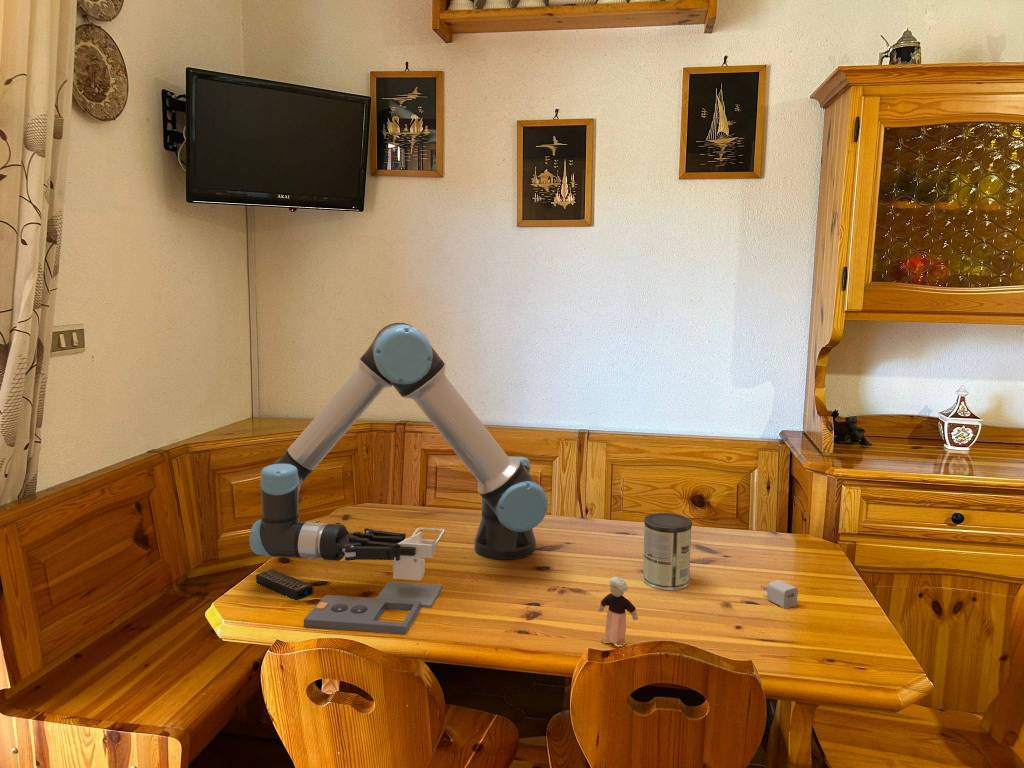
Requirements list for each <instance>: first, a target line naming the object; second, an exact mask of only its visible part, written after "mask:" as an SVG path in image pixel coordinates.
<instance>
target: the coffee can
mask: <svg viewBox="0 0 1024 768" xmlns="http://www.w3.org/2000/svg"><path fill="white" fill-rule="evenodd" d="M643 522H644V523H643V524H644V526H643V527H644V530H643V532H644V533H643V534H644V535H643V570H642V571H643V573H642V581H643V583H644V584H645V585H647V586H649V587H650V588H653V587H654V589H657V590H661V589H662V590H663V591H679V589H680V590H683V588H684V589H685V588H687V587H688V586H689V585H690V572H691V571H690V570H691V569H690V567H691V566H690V565H691V545H692V526H693V521H692V519H690V517H687V516H684V515H682V514H678V513H672V512H655V513H651V514H648V515H646V516H645V517H644V519H643Z"/></svg>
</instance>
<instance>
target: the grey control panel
mask: <svg viewBox="0 0 1024 768" xmlns="http://www.w3.org/2000/svg"><path fill="white" fill-rule="evenodd" d="M385 610H387V611H388V610H389V611H405V612H408V613H407V615H406V617H405V618H404V620H403V621H402V622H400V621H399V622H397V621H386V620H385V621H384V620H379V619H380V617H381V616H382V614H383V613H384V612H385ZM421 610H422V607H421V601H409V600H395V599H380V598H377V597H364V596H351V595H350V596H348V595H347V596H346V595H333V594H325V595H324V596H323V597H322V599H321V600H320V601H319V602H318V603H317V604H316V605H315V606H314V607H313V609H311V611H310V612H308V614H307V615H306V616H305V617H304V618H303V627H306V628H314V629H315V628H316V629H317V628H318V629H331V630H341V631H342V630H343V631H344V630H345V631H346V630H347V631H357V632H358V631H360V632H368V633H369V632H370V633H371V632H372V633H382V632H383V633H384V634H385V633H386V634H395V633H396V634H397V633H398V635H407V633H408V632H409V629H410V628H411V626H412V625H411V624H413V622H414V621H415V620H414V619H416V617H417V616H418V614H419V612H420V611H421ZM407 631H408V632H407Z"/></svg>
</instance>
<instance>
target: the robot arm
mask: <svg viewBox="0 0 1024 768" xmlns="http://www.w3.org/2000/svg"><path fill="white" fill-rule="evenodd" d="M358 361H359V366H358V367H357V368H356V370H355V371H354V372H353V373H352V374H351V375H350V377H349V378H348V379H347V380H346V381H345V382H344V383H343V384H342V385H341V387H340V388H339V389H338V390H337V392H336V393H335V394H334V395H333V396H332V398H330V399H329V401H328V402H327V403H326V404H325V405H324V407H323V408H322V409H321V410H320V411H319V412H318V413H317V415H316V416H315V417H314V418H313V419H312V420H311V422H310V423H309V424H308V425H307V426H306V427H305V428H304V430H303V431H302V432H301V433H300V434H299V436H297V438H295V440H294V441H293V442H292V444H291V445H290V446H289V447H288V448H287V450H286V451H285V452H284V453H283V454H282V455H281V457H280V458H278V459H276V460H275V461H274V462H273V464H269V465H268V466H267V465H266V466H264V467H263V468H262V469H261V472H260V482H259V485H260V486H259V487H260V495H261V499H260V500H261V519H258V520H256V521H255V522H254V523H253V525H252V526H251V529H250V536H249V546H250V550H251V551H252V552H253V553H254V554H256V555H257V556H258V555H260V556H266V557H270V558H293V559H309V560H310V561H311V562H312V561H314V560H324V561H332V562H334V561H335V562H339V561H341V560H342V559H343V558H344V561H347V562H348V561H362V560H363V561H393V560H394V557H396V561H398V560H400V555H401V556H407V557H421V558H422V559H432V558H433V555H434V554H436V551H437V550H436V547H437V546H436V541H437V539H428V538H427V539H426V538H424V539H423V538H422V544H421V543H406V542H402V543H401V546H400V544H397V543H399V542H401V541H403V540H405V539H407V538H408V537H407V533H406V532H405V533H402V532H393V531H392V532H391V531H385V530H376V529H373V528H368V527H366V528H364V531H363V532H362V531H353V532H349V531H348V530H347V526H345V525H344V524H342V523H339V524H338V523H328V524H326V523H324V522H311V521H310V522H309V521H307V522H306V521H300V511H299V510H300V506H299V503H300V501H299V494H300V490H301V487H302V485H303V483H304V482H305V481H306V479H308V477H309V476H311V474H312V472H313V471H314V470H315V468H317V466H319V464H320V463H321V462H322V461H323V459H324V458H325V457H326V456H327V455H328V454H329V453H330V452H331V450H332V449H333V448H334V447H335V446H336V445H337V443H338V442H339V441H340V440H341V439H342V438H343V437H344V436H345V434H346V433H347V432H348V431H349V430H350V428H351V427H352V426H353V425H354V424H355V423H356V421H357V420H358V419H359V418H360V417H361V416H362V415H363V413H365V411H366V410H367V409H368V408H369V407H370V405H372V403H373V402H374V401H375V400H376V399H377V397H378V396H379V395H380V394H381V393H382V391H384V390H385V389H386V388H392V387H394V388H395V391H396V392H397V393H399V395H400V396H401V398H404V399H410V400H413V401H414V402H415V404H416V405H417V406H418V408H419V409H420V410H421V411H422V412H423V414H424V415H425V417H427V419H428V420H429V421H430V423H431V424H432V425H433V426H434V427H435V429H436V430H437V432H438V433H439V434H440V435H441V437H442V438H443V439H444V440H445V441H446V443H447V444H448V445H449V446H450V447H451V449H452V450H453V451H454V453H455V454H456V455H457V457H459V459H460V461H462V462H463V464H464V466H465V467H466V468H467V469H468V470H469V472H470V473H471V474H472V475H473V477H474V478H475V479H476V480H477V482H478V483H477V492H478V494H479V495H480V496H481V520H480V522H479V525H478V529H477V532H476V535H475V537H474V551H475V552H476V554H479V555H480V556H483V557H486V558H489V559H496V560H514V559H515V560H516V559H521V558H522V559H523V558H525V557H528V556H530V555H533V553H534V552H535V551H536V547H537V546H536V545H537V543H536V536H535V534H534V530H533V529H534V528H536V527H537V526H538V525H539V524H541V523H542V521H543V520H544V519H545V517H546V515H547V511H548V508H549V501H548V497H547V494H546V491H545V490H544V488H543V487H542V486H541V485H539V483H538V482H537V481H536V480H535V479H534V477H533V476H532V475H531V473H530V470H531V465H530V459H528V458H527V457H524V456H514V455H513V456H511V455H510V456H508V455H507V454H506V452H505V451H504V450H503V448H502V446H500V445H499V443H498V442H497V440H496V439H495V438H494V437H493V435H492V434H491V433H490V431H489V430H488V429H487V427H486V426H485V425H484V424H483V422H482V420H480V418H478V416H477V415H476V413H475V412H474V411H473V410H472V408H471V407H470V405H469V404H468V403H467V402H466V401H465V399H464V398H463V396H461V394H460V392H459V391H458V390H457V389H456V388H455V386H454V385H453V384H452V382H451V381H450V380H449V379H448V377H447V376H446V375H445V372H446V363H445V362H444V361H443V359H442V358H441V357H440V356H439V354H438V353H437V352H436V350H435V349H434V347H433V346H432V345H431V343H430V340H429V339H428V337H427V336H426V335H425V334H424V333H423V332H422V331H421V330H419V329H418V328H416V327H415V326H413V325H411V324H408V323H404V322H394V323H390V324H387V325H386V326H384V327H382V329H380V330H379V331H378V332H377V333H376V336H375V337H374V339H373V340H372V342H371V343H370V346H368V348H367V350H365V352H364V353H363V354H362V356H361V357H360V358H359V359H358Z"/></svg>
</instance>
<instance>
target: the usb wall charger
mask: <svg viewBox="0 0 1024 768" xmlns="http://www.w3.org/2000/svg"><path fill="white" fill-rule="evenodd" d="M760 588H761V589H762V590H764V591H766V600H767V601H768V600H769V602H770V601H771V603H772V602H773V603H772V604H774V603H775V605H776V604H777V606H778V605H779V606H778V607H781V608H782V609H789V608H791V607H796V606H797V604H798V596H799V595H798V594H799V593H798V592H799V589H798V587H797V586H794V585H791V584H790V583H788V582H785V581H783V580H781V579H777V580H774V581H770V582H768V583H767V586H766V585H763V584H761V585H760Z"/></svg>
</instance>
